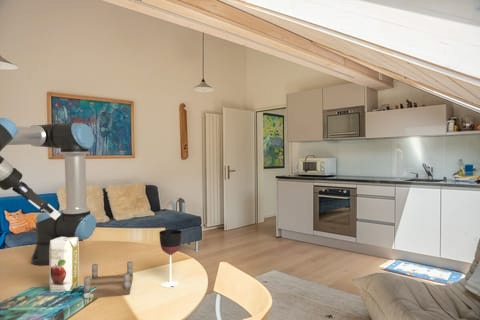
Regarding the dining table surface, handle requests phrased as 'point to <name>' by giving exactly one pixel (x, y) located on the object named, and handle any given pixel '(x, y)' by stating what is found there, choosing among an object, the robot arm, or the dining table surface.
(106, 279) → the peg plinth
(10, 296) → the dining table surface
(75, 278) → the juice carton
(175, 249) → the wineglass
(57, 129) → the robot arm
